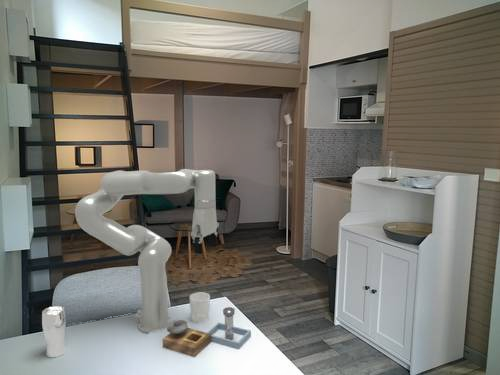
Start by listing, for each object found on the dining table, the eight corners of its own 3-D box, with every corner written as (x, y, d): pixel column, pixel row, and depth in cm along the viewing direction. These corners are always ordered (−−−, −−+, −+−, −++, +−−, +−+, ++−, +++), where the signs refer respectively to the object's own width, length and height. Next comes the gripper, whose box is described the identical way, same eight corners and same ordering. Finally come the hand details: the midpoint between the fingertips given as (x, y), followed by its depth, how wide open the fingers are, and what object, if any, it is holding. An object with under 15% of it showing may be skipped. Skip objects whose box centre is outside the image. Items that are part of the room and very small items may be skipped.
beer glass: (72, 348, 132) (69, 307, 130) (56, 360, 126) (53, 316, 124) (56, 345, 135) (53, 304, 133) (39, 356, 128) (36, 313, 126)
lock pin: (221, 340, 137) (221, 311, 135) (227, 335, 140) (226, 306, 138) (231, 343, 135) (231, 313, 133) (236, 337, 139) (236, 308, 137)
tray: (204, 342, 137) (204, 334, 136) (218, 330, 145) (218, 322, 145) (238, 351, 131) (238, 343, 131) (250, 338, 139) (250, 330, 139)
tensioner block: (160, 349, 132) (159, 327, 131) (178, 335, 141) (177, 314, 140) (194, 359, 126) (194, 337, 125) (211, 344, 135) (210, 323, 134)
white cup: (206, 326, 148) (206, 301, 146) (187, 324, 149) (186, 299, 148) (212, 316, 156) (212, 293, 154) (193, 314, 157) (193, 291, 156)
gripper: (209, 199, 150) (209, 242, 153) (182, 207, 135) (183, 255, 137) (226, 201, 147) (226, 245, 149) (200, 209, 131) (201, 258, 134)
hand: (205, 249), depth 143 cm, fingers open, 9 cm apart
